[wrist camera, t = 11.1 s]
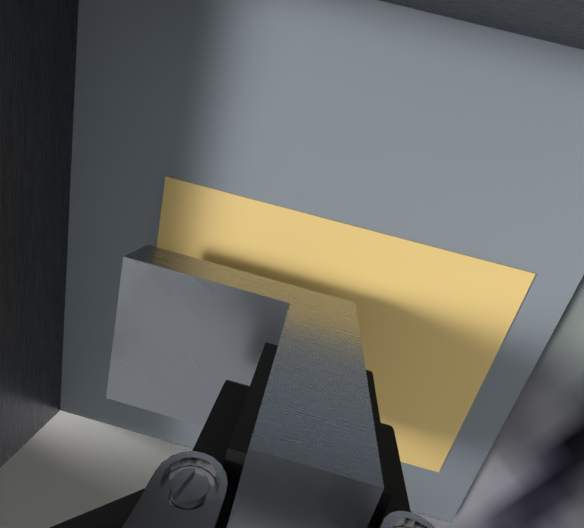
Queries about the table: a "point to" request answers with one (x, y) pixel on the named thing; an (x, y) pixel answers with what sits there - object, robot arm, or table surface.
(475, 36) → the tray
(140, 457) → the table surface
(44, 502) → the table surface
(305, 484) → the bracket
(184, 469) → the robot arm
